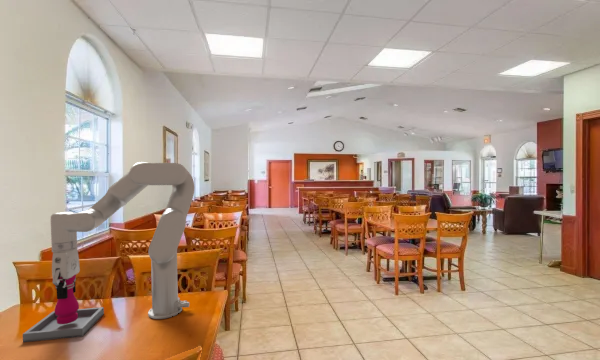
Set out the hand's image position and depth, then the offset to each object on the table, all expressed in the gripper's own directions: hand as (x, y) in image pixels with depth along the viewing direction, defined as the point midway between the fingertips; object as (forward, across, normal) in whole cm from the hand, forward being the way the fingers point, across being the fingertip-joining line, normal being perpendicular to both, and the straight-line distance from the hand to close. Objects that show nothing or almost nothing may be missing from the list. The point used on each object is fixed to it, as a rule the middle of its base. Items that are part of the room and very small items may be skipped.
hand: (66, 295), depth 118 cm
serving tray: (+12, 0, 0) cm, 12 cm away
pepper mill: (+10, 0, 0) cm, 10 cm away
